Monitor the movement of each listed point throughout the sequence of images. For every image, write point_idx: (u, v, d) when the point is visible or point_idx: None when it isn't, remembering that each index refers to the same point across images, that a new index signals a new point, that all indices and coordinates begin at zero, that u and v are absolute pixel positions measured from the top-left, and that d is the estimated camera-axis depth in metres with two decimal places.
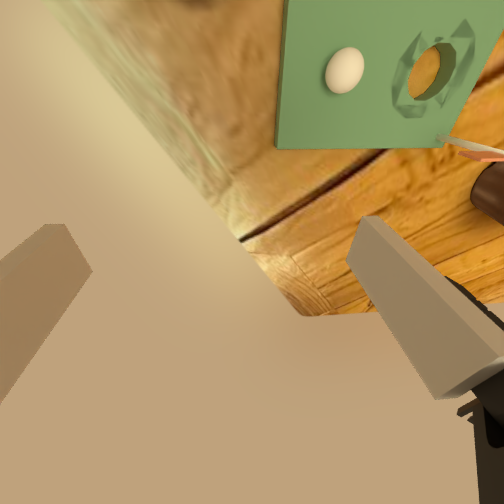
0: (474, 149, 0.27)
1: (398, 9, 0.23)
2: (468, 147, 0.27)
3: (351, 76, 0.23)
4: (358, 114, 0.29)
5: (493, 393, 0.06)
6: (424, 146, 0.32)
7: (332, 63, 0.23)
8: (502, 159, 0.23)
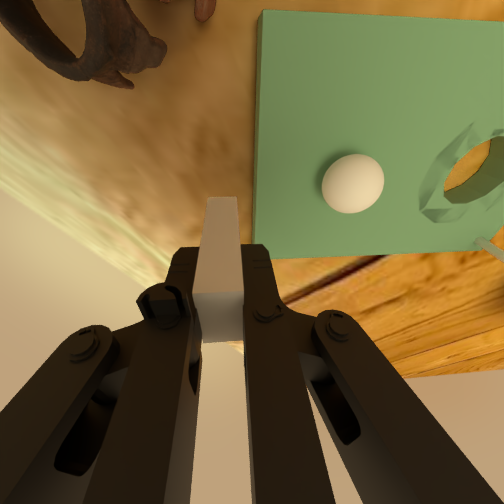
0: None
1: (442, 94, 0.14)
2: None
3: (363, 202, 0.14)
4: (370, 220, 0.20)
5: None
6: (457, 249, 0.24)
7: (333, 179, 0.14)
8: None
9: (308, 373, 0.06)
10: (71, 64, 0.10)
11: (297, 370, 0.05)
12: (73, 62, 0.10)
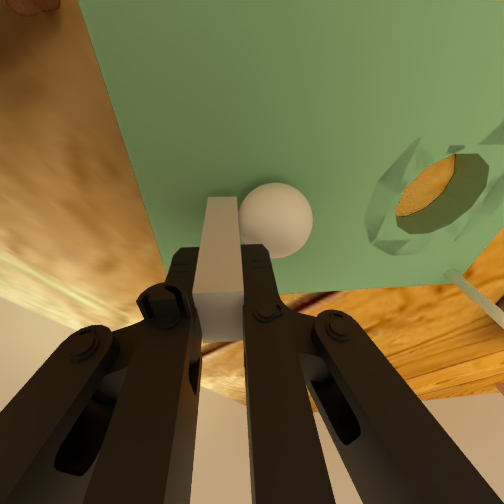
0: None
1: (370, 101, 0.10)
2: None
3: (295, 247, 0.11)
4: (309, 255, 0.16)
5: None
6: (426, 283, 0.20)
7: (250, 224, 0.10)
8: None
9: (308, 373, 0.06)
10: None
11: (297, 370, 0.05)
12: None
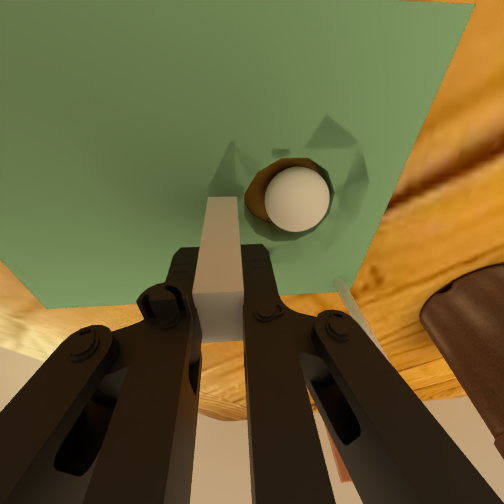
0: None
1: (156, 101, 0.10)
2: None
3: (319, 198, 0.12)
4: None
5: (243, 329, 0.07)
6: (317, 291, 0.19)
7: (275, 195, 0.13)
8: None
9: (307, 373, 0.06)
10: None
11: (297, 370, 0.05)
12: None
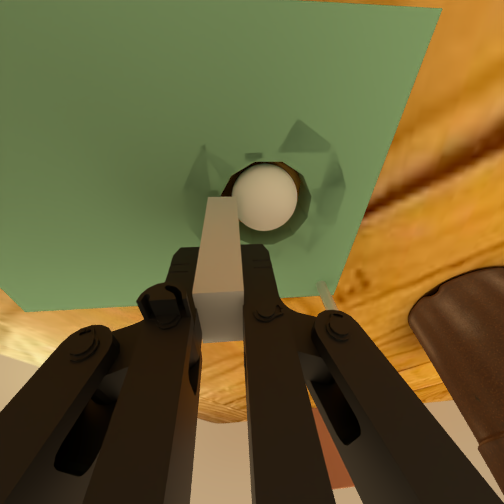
0: None
1: (123, 104, 0.10)
2: None
3: (275, 190, 0.12)
4: (150, 266, 0.15)
5: (243, 329, 0.07)
6: (300, 294, 0.19)
7: (235, 186, 0.13)
8: None
9: (308, 373, 0.06)
10: None
11: (297, 370, 0.05)
12: None
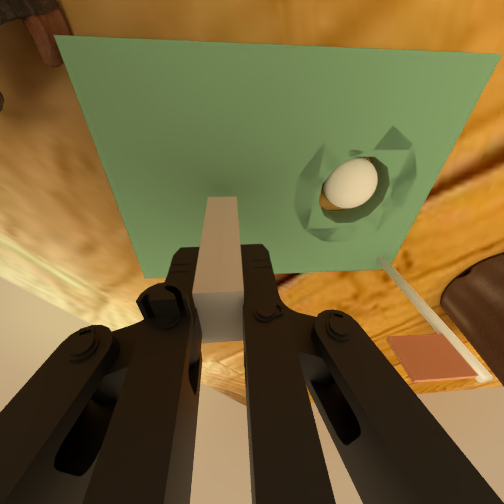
0: (420, 312, 0.17)
1: (279, 115, 0.14)
2: (413, 303, 0.18)
3: (364, 172, 0.16)
4: (254, 239, 0.20)
5: None
6: (362, 268, 0.23)
7: None
8: (452, 378, 0.13)
9: (308, 373, 0.06)
10: None
11: (297, 370, 0.05)
12: None
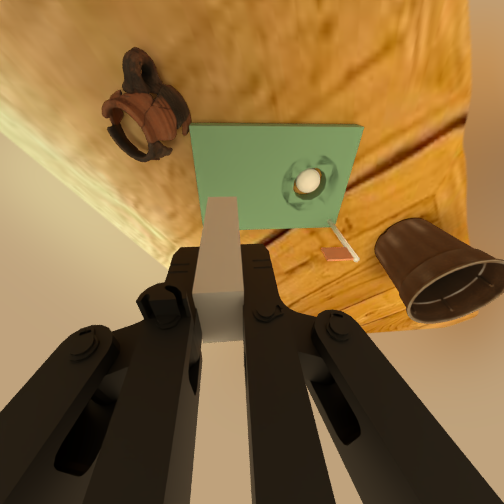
0: None
1: (273, 151, 0.33)
2: None
3: (312, 176, 0.35)
4: (261, 208, 0.39)
5: None
6: (319, 226, 0.42)
7: (298, 175, 0.36)
8: (343, 259, 0.32)
9: (308, 372, 0.06)
10: (140, 157, 0.29)
11: (297, 370, 0.05)
12: (141, 157, 0.29)
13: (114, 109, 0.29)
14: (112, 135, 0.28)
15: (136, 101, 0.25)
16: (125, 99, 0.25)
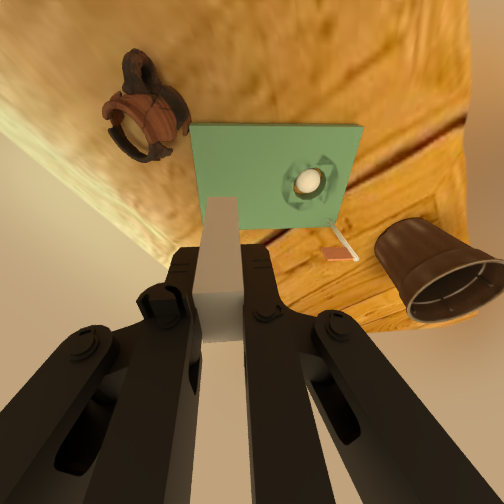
0: (340, 240, 0.36)
1: (273, 151, 0.33)
2: None
3: (312, 176, 0.35)
4: (261, 208, 0.39)
5: None
6: (319, 226, 0.42)
7: (298, 175, 0.36)
8: (343, 259, 0.32)
9: (308, 372, 0.06)
10: (141, 158, 0.30)
11: (297, 370, 0.05)
12: (142, 158, 0.29)
13: (114, 111, 0.29)
14: (113, 136, 0.29)
15: (136, 102, 0.25)
16: (125, 100, 0.25)
